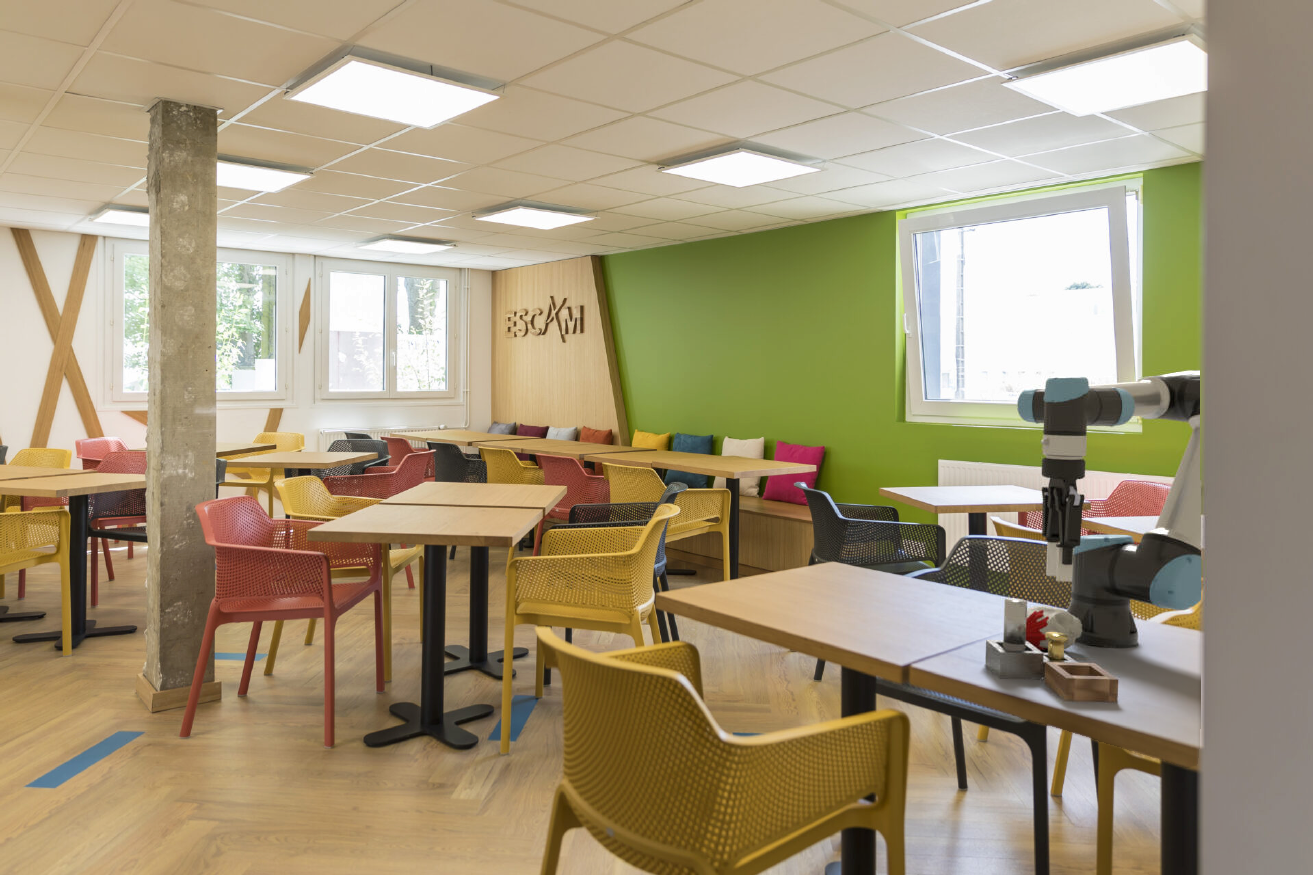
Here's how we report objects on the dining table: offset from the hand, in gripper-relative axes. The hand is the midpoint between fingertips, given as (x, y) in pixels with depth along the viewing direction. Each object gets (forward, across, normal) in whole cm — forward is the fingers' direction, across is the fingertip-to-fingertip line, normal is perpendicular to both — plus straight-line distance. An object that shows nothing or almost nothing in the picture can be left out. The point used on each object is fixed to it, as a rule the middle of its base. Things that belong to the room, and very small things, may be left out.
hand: (1058, 578), depth 164 cm
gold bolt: (+18, 0, 0) cm, 18 cm away
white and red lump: (+19, -16, +3) cm, 25 cm away
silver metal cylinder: (+19, 0, -8) cm, 20 cm away
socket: (+19, 0, -5) cm, 19 cm away
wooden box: (+19, +10, 0) cm, 21 cm away
